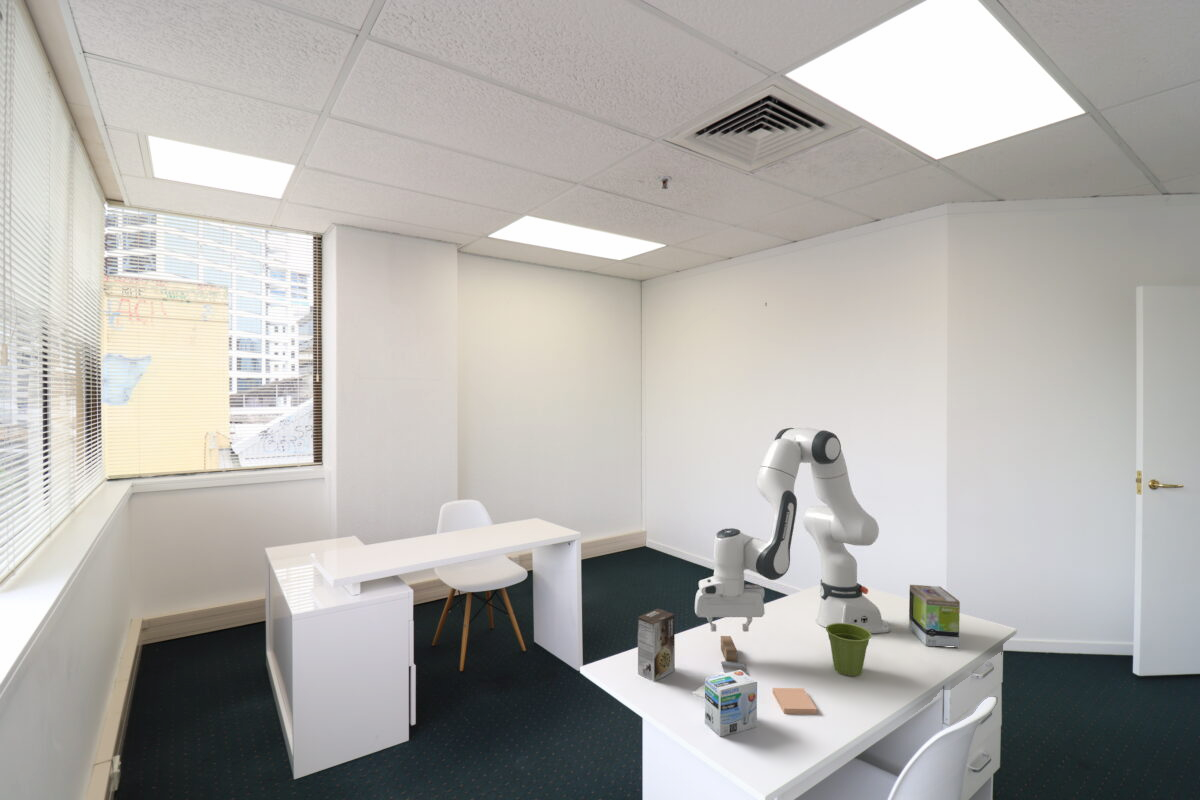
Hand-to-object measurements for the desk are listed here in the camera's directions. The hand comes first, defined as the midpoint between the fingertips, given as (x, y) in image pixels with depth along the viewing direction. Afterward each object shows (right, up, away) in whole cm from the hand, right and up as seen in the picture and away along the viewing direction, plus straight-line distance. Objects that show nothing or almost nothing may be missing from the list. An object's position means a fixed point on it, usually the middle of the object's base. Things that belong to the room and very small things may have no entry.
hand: (729, 630), depth 173 cm
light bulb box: (-8, -8, -36) cm, 38 cm away
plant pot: (+31, -8, -9) cm, 34 cm away
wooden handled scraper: (0, -8, -4) cm, 8 cm away
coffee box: (-23, -8, -11) cm, 26 cm away
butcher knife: (-8, -8, -18) cm, 22 cm away
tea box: (+68, -8, +13) cm, 70 cm away
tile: (+10, -7, -21) cm, 25 cm away
